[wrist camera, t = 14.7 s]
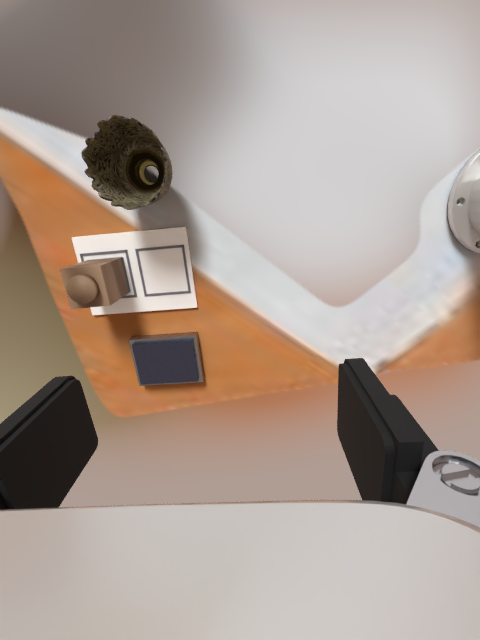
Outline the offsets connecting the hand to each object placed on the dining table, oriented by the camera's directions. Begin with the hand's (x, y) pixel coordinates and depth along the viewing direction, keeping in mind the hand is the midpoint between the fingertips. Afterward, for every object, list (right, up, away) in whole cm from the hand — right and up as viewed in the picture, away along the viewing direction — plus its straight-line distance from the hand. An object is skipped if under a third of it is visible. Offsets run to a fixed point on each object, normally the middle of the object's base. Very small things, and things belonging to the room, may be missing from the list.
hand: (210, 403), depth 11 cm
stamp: (-15, +9, +27) cm, 32 cm away
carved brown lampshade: (-9, +20, +24) cm, 32 cm away
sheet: (-12, +9, +27) cm, 31 cm away
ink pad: (-9, -2, +31) cm, 33 cm away
